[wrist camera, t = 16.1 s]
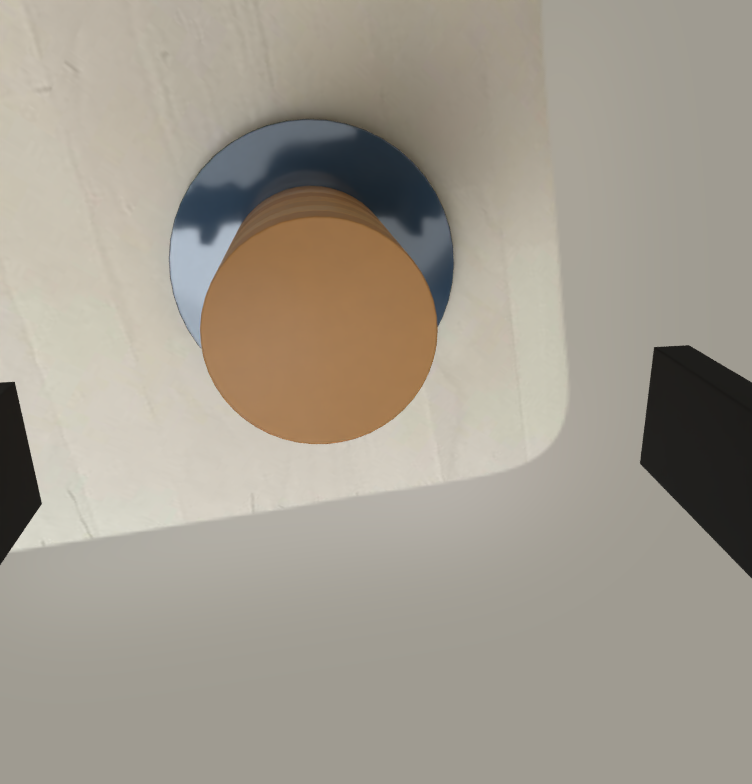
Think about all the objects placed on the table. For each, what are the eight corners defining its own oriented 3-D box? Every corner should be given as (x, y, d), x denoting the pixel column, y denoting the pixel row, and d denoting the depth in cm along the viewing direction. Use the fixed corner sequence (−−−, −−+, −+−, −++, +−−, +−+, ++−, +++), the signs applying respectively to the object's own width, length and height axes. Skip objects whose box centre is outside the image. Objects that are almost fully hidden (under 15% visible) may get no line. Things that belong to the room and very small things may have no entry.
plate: (450, 115, 29) (456, 114, 28) (447, 386, 34) (452, 393, 33) (154, 123, 28) (149, 123, 27) (190, 402, 33) (187, 410, 32)
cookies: (393, 182, 29) (438, 211, 20) (396, 345, 32) (437, 437, 23) (220, 188, 29) (185, 221, 19) (237, 354, 31) (213, 452, 22)
